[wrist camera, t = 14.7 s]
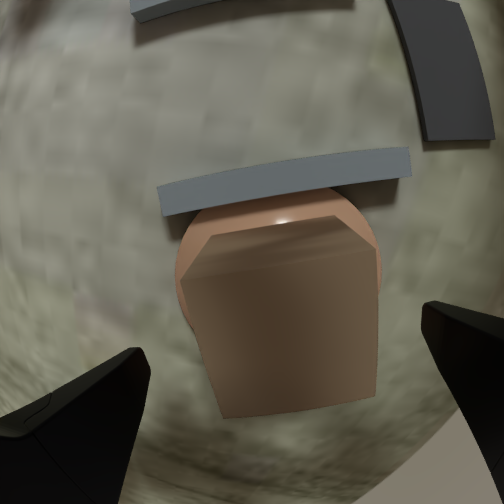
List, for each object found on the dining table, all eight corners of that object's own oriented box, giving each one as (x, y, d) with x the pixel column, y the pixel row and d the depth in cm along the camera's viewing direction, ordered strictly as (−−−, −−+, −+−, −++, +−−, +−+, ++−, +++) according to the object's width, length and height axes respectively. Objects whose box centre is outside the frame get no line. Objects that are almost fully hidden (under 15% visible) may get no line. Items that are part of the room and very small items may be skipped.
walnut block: (334, 214, 12) (375, 249, 7) (343, 323, 13) (375, 396, 9) (211, 235, 13) (179, 280, 8) (235, 340, 14) (223, 418, 9)
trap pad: (455, 5, 9) (458, 3, 9) (490, 139, 11) (495, 139, 11) (385, -6, 10) (387, -9, 9) (424, 141, 12) (428, 140, 11)
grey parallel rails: (348, -29, 9) (354, -41, 8) (400, 174, 12) (412, 176, 11) (138, 4, 10) (129, -6, 9) (171, 211, 13) (163, 216, 12)
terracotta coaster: (367, 162, 12) (371, 162, 11) (378, 345, 14) (381, 351, 14) (157, 198, 13) (153, 200, 12) (205, 371, 15) (203, 378, 15)
